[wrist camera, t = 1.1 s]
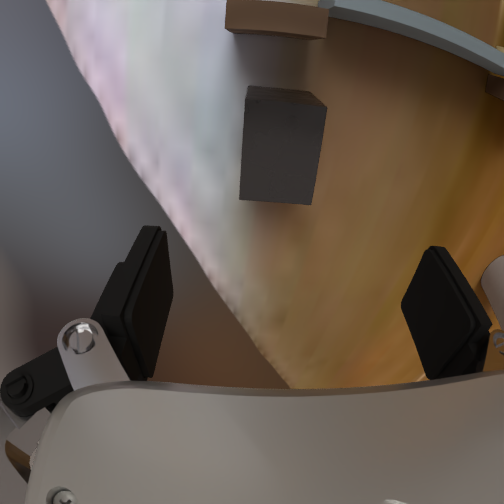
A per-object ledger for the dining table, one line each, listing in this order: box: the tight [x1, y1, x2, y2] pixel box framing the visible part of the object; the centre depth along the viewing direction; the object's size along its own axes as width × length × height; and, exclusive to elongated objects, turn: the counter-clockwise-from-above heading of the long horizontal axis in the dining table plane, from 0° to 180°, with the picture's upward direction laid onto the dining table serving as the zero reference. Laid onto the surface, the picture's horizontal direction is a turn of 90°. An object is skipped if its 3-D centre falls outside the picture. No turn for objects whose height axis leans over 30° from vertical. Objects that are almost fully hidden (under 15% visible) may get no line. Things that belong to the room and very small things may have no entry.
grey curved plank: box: [318, 0, 504, 76], centre depth 16 cm, size 2×18×6 cm, turn 86°
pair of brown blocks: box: [225, 0, 504, 101], centre depth 17 cm, size 2×30×6 cm, turn 86°
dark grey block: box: [239, 86, 327, 205], centre depth 22 cm, size 7×5×7 cm
